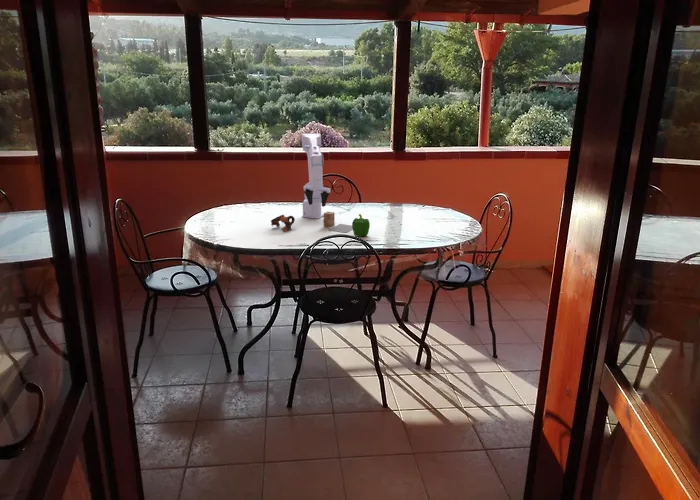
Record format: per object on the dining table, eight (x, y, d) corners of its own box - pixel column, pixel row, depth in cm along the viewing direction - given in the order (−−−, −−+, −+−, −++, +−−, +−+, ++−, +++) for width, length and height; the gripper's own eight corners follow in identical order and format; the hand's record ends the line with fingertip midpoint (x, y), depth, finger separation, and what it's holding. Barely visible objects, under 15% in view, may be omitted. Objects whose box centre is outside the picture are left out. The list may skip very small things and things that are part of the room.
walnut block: (323, 226, 274) (323, 213, 272) (327, 224, 278) (327, 211, 276) (330, 227, 273) (330, 214, 270) (334, 225, 276) (334, 212, 274)
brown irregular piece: (279, 234, 264) (272, 219, 263) (274, 237, 272) (266, 222, 272) (300, 224, 269) (293, 209, 269) (294, 228, 278) (286, 213, 277)
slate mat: (328, 230, 269) (328, 229, 269) (340, 224, 279) (340, 223, 279) (346, 233, 264) (346, 232, 264) (357, 226, 274) (357, 226, 274)
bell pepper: (368, 238, 256) (368, 218, 253) (350, 237, 258) (351, 217, 254) (370, 233, 264) (370, 213, 261) (353, 232, 265) (353, 212, 262)
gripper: (299, 178, 271) (300, 205, 275) (325, 181, 264) (325, 208, 269) (307, 176, 276) (308, 202, 281) (332, 178, 270) (332, 205, 275)
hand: (317, 205), depth 275 cm, fingers open, 7 cm apart
